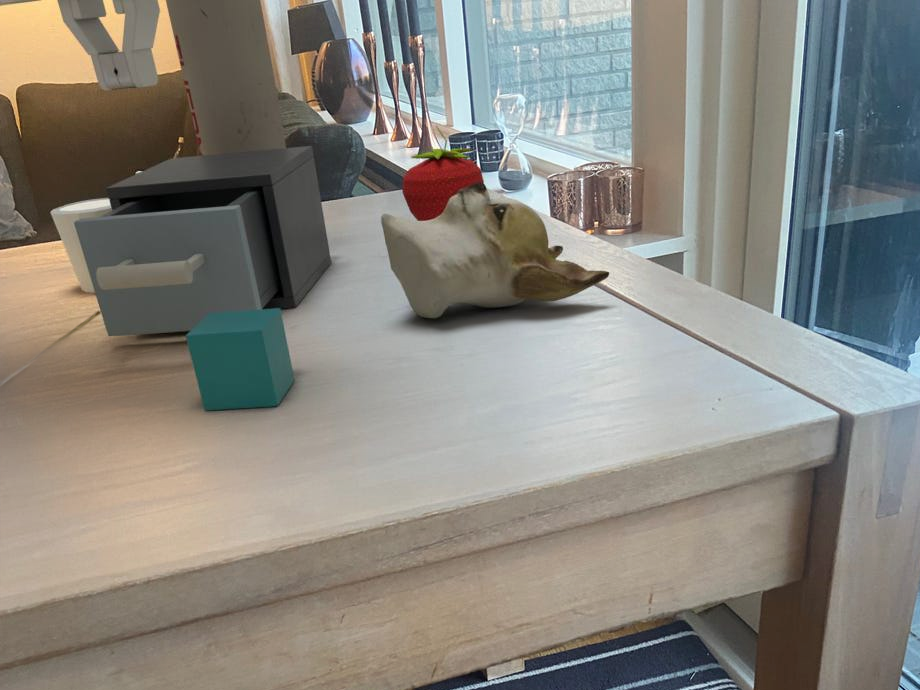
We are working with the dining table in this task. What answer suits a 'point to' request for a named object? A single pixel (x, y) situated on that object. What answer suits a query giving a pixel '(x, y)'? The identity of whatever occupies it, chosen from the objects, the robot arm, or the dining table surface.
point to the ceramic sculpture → (480, 256)
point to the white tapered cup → (68, 234)
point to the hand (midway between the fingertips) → (130, 88)
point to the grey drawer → (180, 259)
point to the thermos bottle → (227, 74)
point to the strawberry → (438, 181)
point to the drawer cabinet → (285, 196)
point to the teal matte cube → (241, 359)
